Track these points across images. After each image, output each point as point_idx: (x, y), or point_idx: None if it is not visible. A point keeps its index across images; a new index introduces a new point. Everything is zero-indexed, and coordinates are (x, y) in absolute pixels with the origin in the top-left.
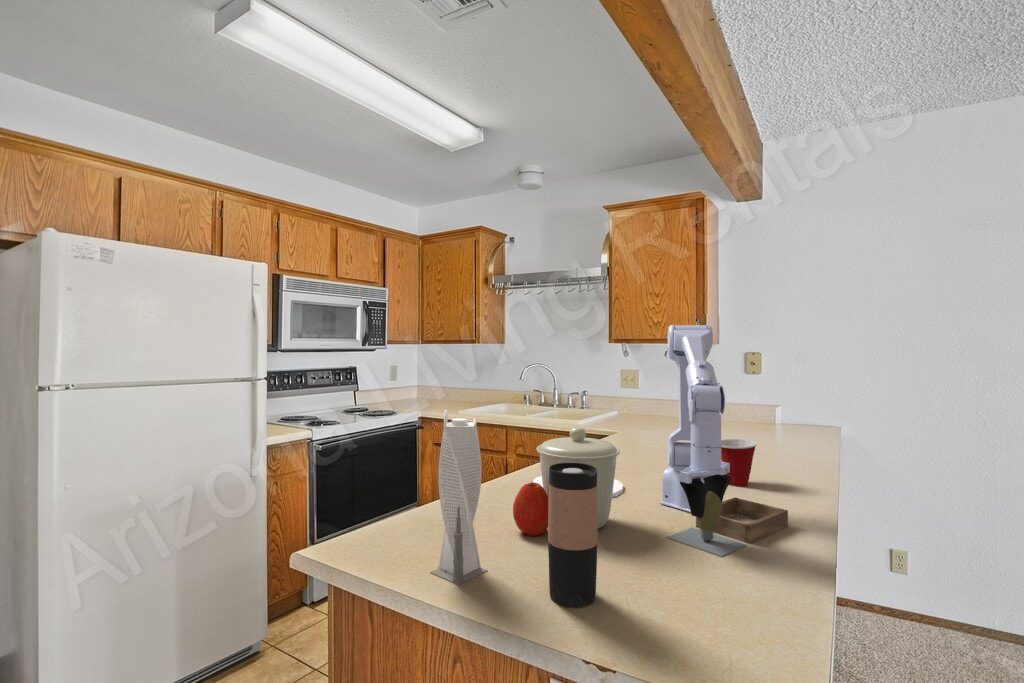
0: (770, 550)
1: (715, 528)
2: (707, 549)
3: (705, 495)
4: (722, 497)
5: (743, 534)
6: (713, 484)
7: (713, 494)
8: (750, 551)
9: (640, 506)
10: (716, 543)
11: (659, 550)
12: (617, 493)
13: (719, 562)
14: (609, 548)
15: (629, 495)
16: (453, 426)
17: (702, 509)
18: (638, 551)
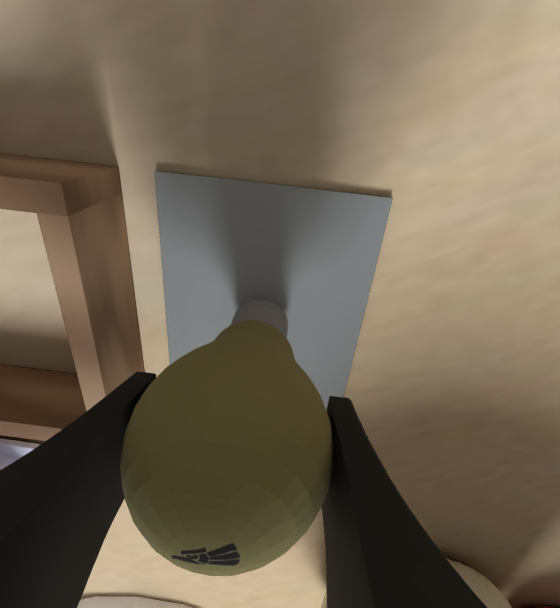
0: (104, 38)
1: (129, 338)
2: (355, 276)
3: (377, 542)
4: (72, 434)
5: (104, 212)
6: (43, 592)
7: (210, 504)
8: (210, 120)
9: (143, 545)
10: (256, 277)
11: (476, 393)
12: (121, 602)
13: (465, 175)
14: (553, 489)
15: (95, 582)
16: None
17: (361, 436)
18: (529, 431)
